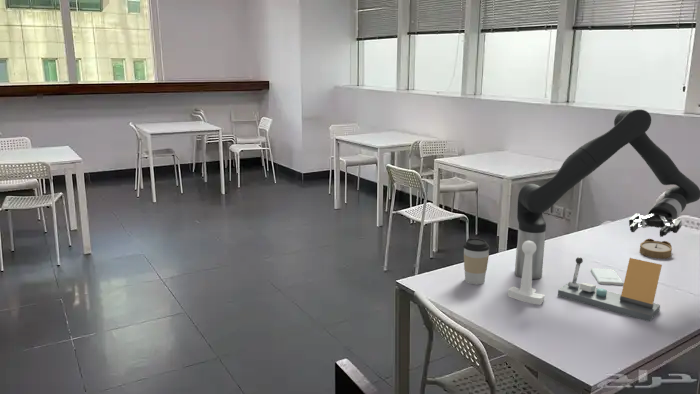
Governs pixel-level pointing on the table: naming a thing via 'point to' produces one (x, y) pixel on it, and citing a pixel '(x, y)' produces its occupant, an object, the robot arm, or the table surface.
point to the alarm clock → (656, 249)
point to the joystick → (527, 279)
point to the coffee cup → (475, 260)
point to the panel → (609, 302)
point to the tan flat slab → (641, 283)
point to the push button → (601, 292)
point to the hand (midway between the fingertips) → (646, 231)
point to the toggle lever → (576, 274)
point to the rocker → (587, 287)
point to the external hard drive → (606, 276)
